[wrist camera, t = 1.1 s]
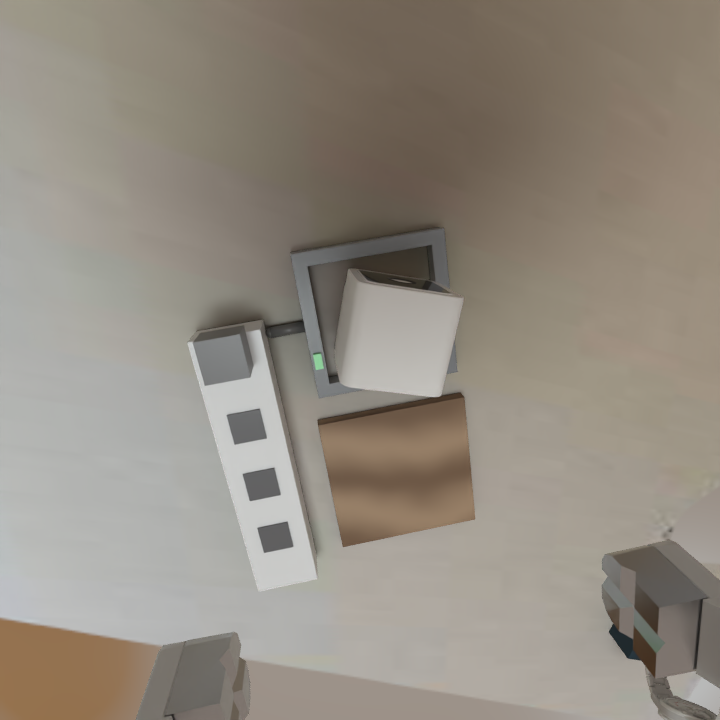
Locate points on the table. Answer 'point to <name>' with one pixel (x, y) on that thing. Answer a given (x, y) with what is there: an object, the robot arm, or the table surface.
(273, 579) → the power strip
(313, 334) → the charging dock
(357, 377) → the security camera
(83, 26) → the table surface
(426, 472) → the walnut pad
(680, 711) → the watch
